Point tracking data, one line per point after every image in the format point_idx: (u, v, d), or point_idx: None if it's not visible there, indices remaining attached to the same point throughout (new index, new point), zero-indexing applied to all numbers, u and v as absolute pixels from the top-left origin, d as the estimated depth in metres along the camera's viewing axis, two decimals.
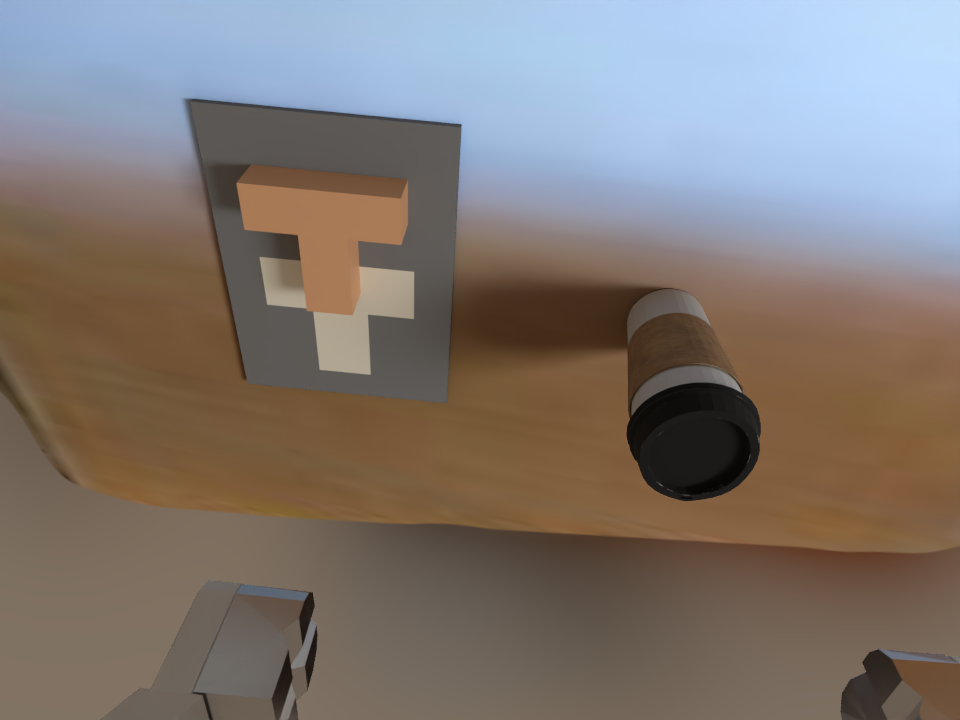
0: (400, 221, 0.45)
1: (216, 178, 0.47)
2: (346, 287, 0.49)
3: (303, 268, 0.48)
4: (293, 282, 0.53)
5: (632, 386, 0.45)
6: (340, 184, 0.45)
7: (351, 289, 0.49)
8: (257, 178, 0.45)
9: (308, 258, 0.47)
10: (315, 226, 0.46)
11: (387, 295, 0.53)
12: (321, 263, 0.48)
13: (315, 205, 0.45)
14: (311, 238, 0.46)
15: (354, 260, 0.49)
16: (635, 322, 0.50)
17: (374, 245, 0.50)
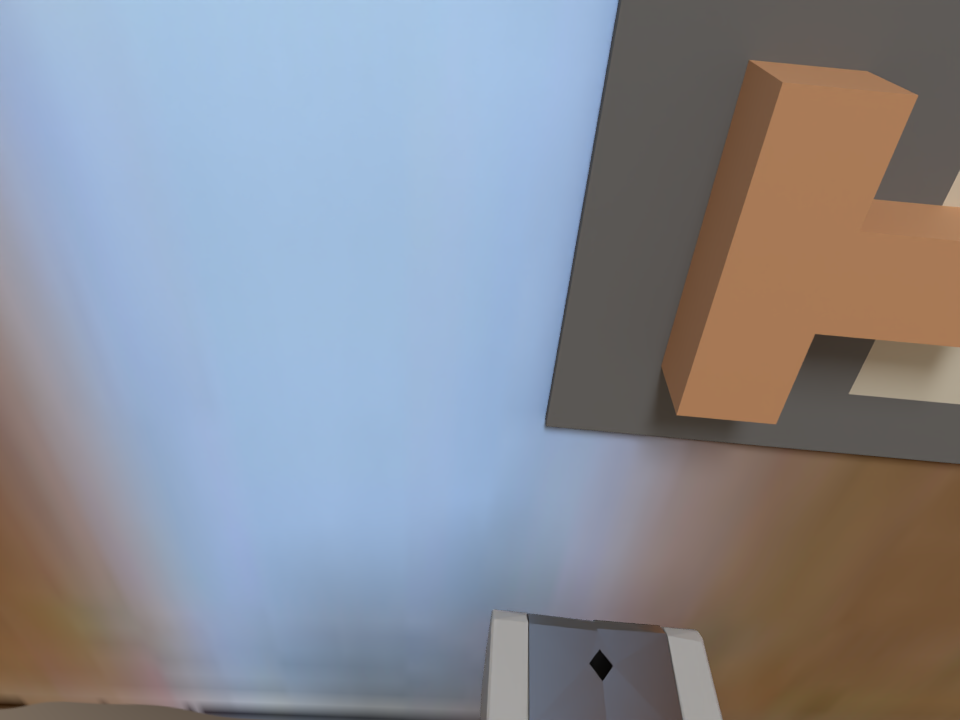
0: (847, 90, 0.17)
1: (678, 423, 0.27)
2: None
3: (901, 338, 0.21)
4: (929, 347, 0.25)
5: None
6: (721, 222, 0.21)
7: None
8: (679, 373, 0.23)
9: (879, 323, 0.21)
10: (804, 295, 0.20)
11: None
12: (901, 300, 0.20)
13: (753, 285, 0.20)
14: (831, 308, 0.21)
15: (921, 218, 0.20)
16: None
17: (898, 163, 0.21)
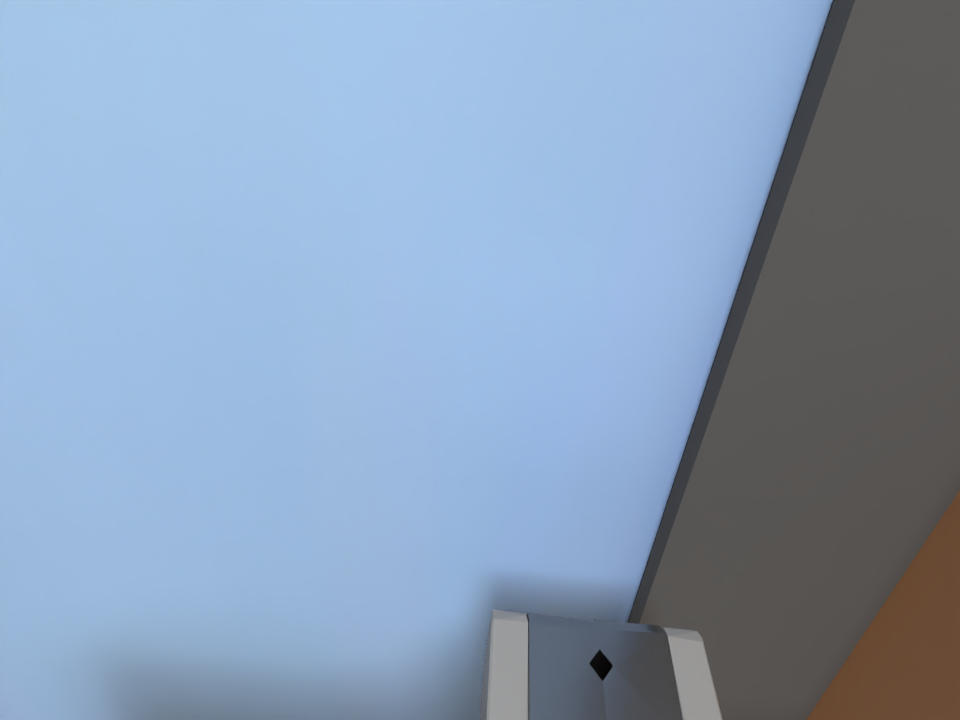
0: None
1: None
2: None
3: None
4: None
5: None
6: None
7: None
8: None
9: None
10: None
11: None
12: None
13: None
14: None
15: None
16: None
17: None
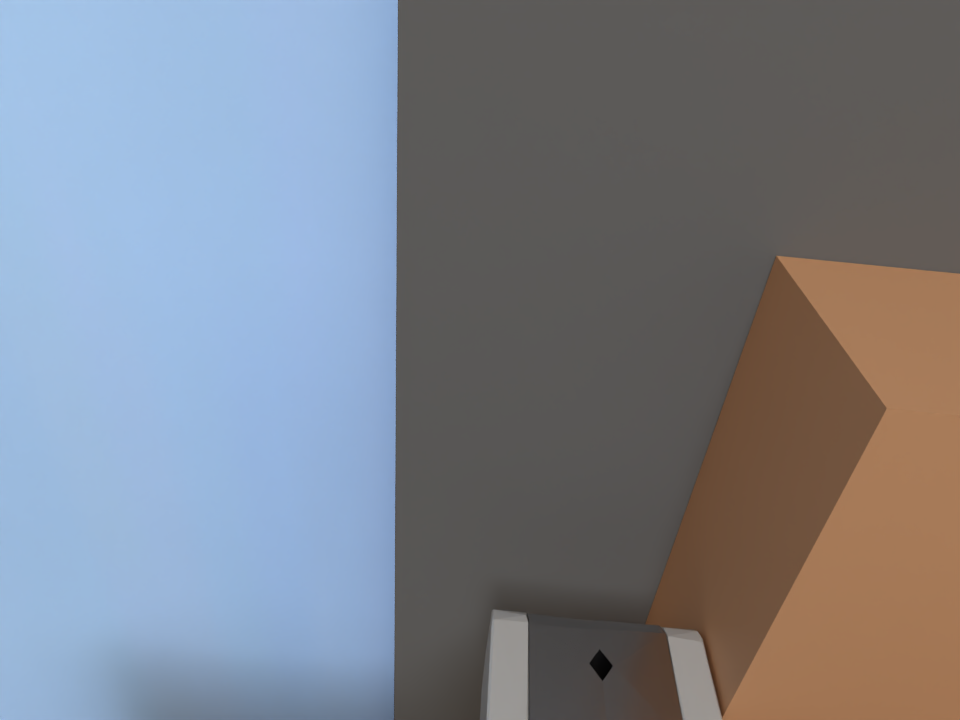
0: None
1: None
2: None
3: None
4: None
5: None
6: (711, 601, 0.09)
7: None
8: None
9: None
10: None
11: None
12: None
13: None
14: None
15: None
16: None
17: None
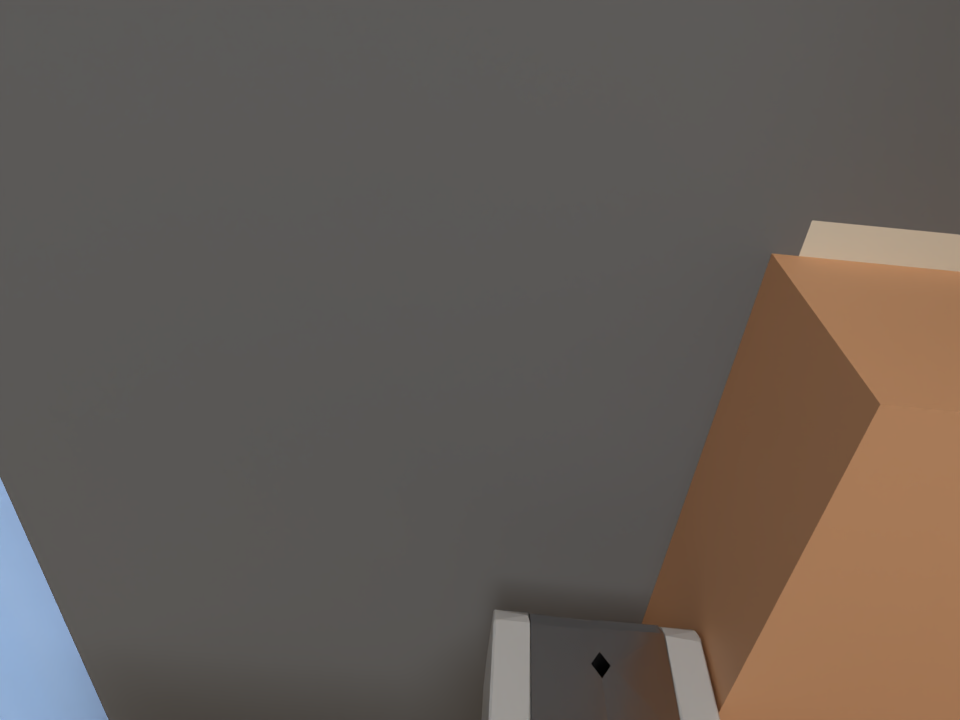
0: None
1: None
2: None
3: None
4: None
5: None
6: (706, 598, 0.09)
7: None
8: None
9: None
10: None
11: None
12: None
13: None
14: None
15: None
16: None
17: (600, 408, 0.10)
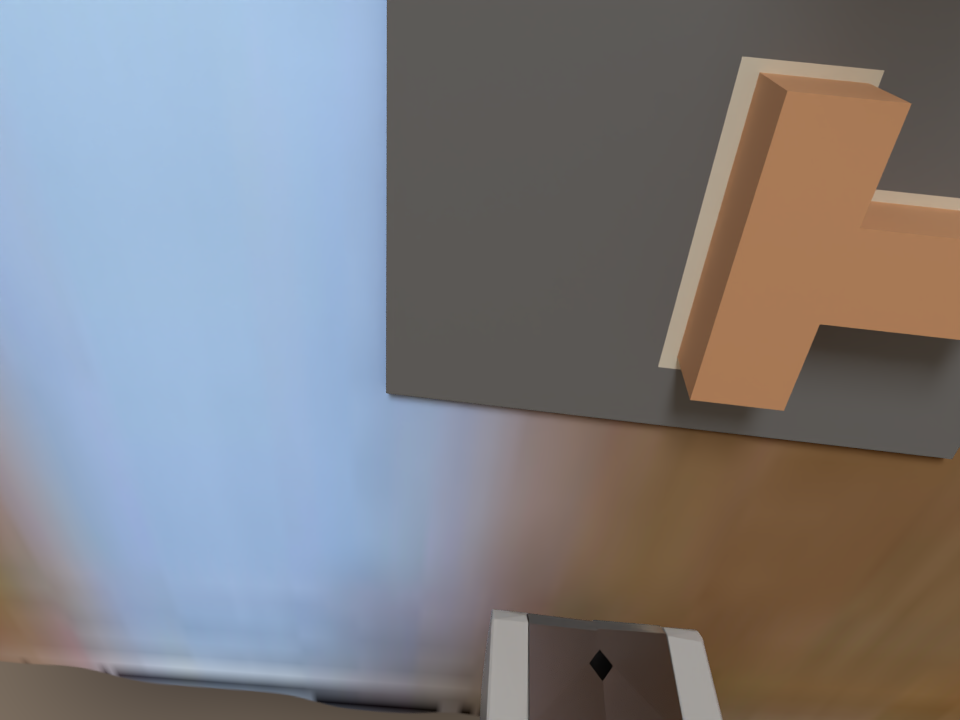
0: (846, 98, 0.19)
1: (506, 392, 0.29)
2: None
3: (901, 330, 0.23)
4: None
5: None
6: (732, 219, 0.22)
7: None
8: (693, 361, 0.25)
9: (880, 315, 0.22)
10: (809, 287, 0.22)
11: None
12: (900, 293, 0.22)
13: (762, 277, 0.22)
14: (835, 300, 0.22)
15: (920, 218, 0.22)
16: None
17: (659, 146, 0.23)
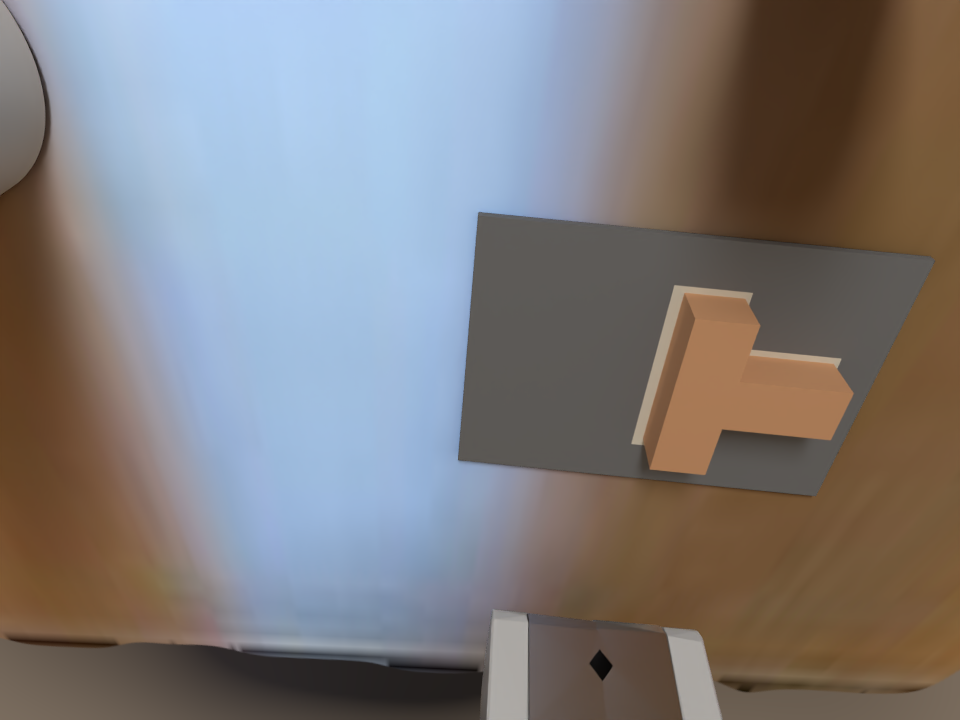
0: (726, 322, 0.36)
1: (535, 459, 0.46)
2: (807, 393, 0.38)
3: (768, 432, 0.40)
4: None
5: None
6: (671, 371, 0.39)
7: (813, 387, 0.38)
8: (651, 446, 0.42)
9: (755, 424, 0.39)
10: (714, 410, 0.39)
11: None
12: (765, 413, 0.39)
13: (687, 405, 0.39)
14: (729, 417, 0.39)
15: (777, 370, 0.39)
16: None
17: (629, 327, 0.40)
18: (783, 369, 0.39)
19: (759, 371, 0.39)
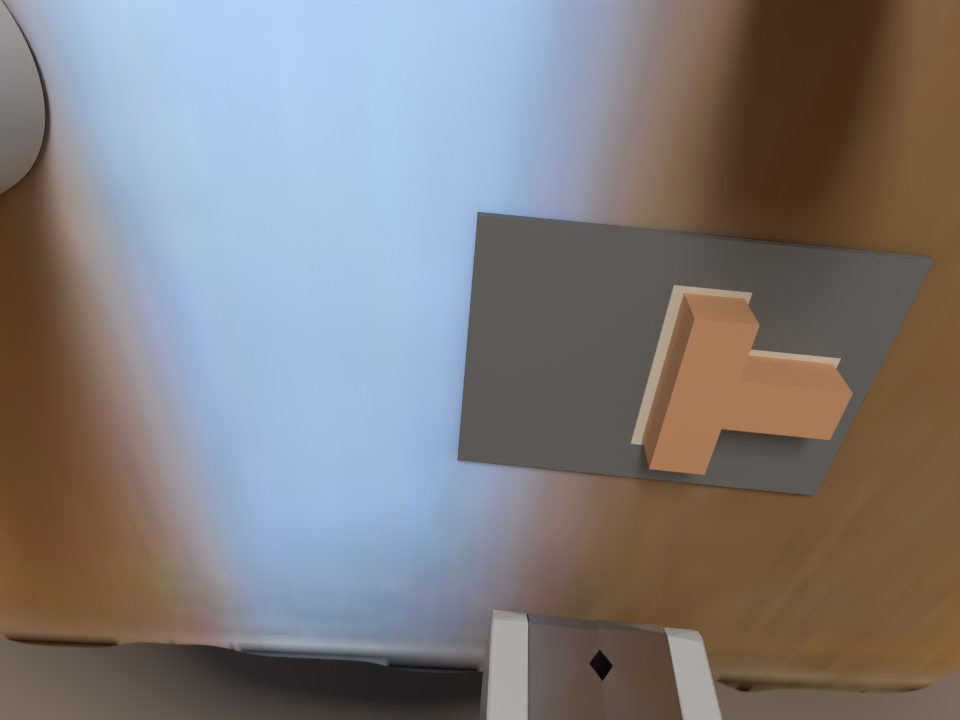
0: (725, 322, 0.36)
1: (535, 459, 0.46)
2: (807, 393, 0.38)
3: (767, 432, 0.40)
4: None
5: None
6: (670, 371, 0.39)
7: (812, 387, 0.38)
8: (650, 445, 0.42)
9: (754, 424, 0.39)
10: (714, 410, 0.39)
11: None
12: (764, 413, 0.39)
13: (687, 405, 0.39)
14: (728, 416, 0.39)
15: (776, 370, 0.39)
16: None
17: (629, 327, 0.40)
18: (782, 369, 0.39)
19: (758, 371, 0.39)
